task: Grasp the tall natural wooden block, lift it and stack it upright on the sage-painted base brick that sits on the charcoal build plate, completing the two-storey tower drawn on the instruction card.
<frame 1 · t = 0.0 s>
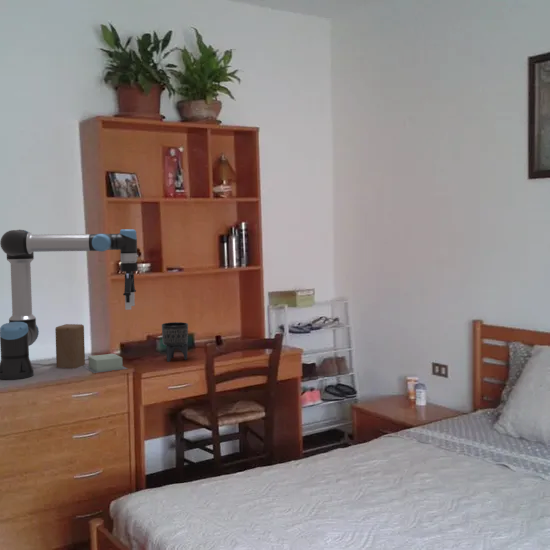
hand: (130, 307, 315), 28 cm above the table, fingers open, 13 cm apart
base brick: (105, 367, 310), point 1 cm above the table, touching build plate
wooden block: (71, 368, 316), on the table
instruction card: (115, 361, 330), on the table
planter: (175, 359, 333), on the table
build plate: (105, 369, 311), on the table
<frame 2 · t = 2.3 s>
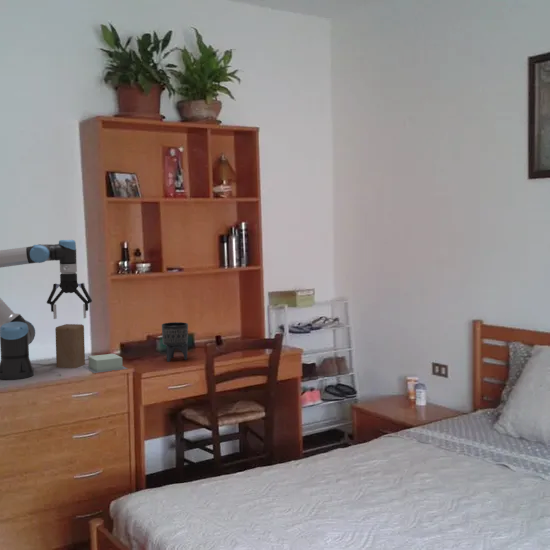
hand: (70, 318, 314), 23 cm above the table, fingers open, 13 cm apart
nothing on the table moved.
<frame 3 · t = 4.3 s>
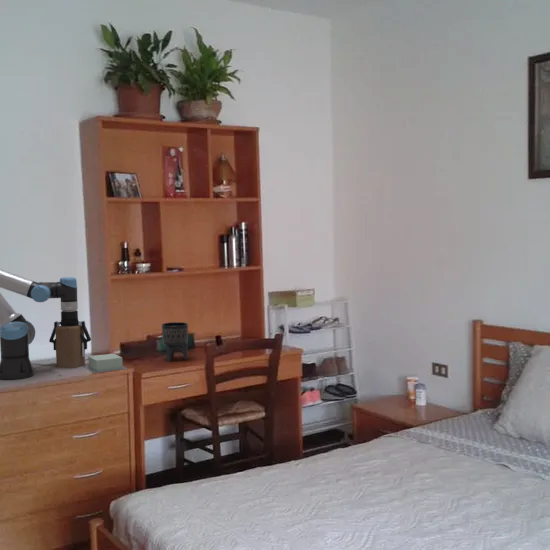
hand: (70, 356, 316), 5 cm above the table, fingers closed on wooden block, 11 cm apart
wooden block: (71, 368, 316), on the table, touching gripper
everything else where it was.
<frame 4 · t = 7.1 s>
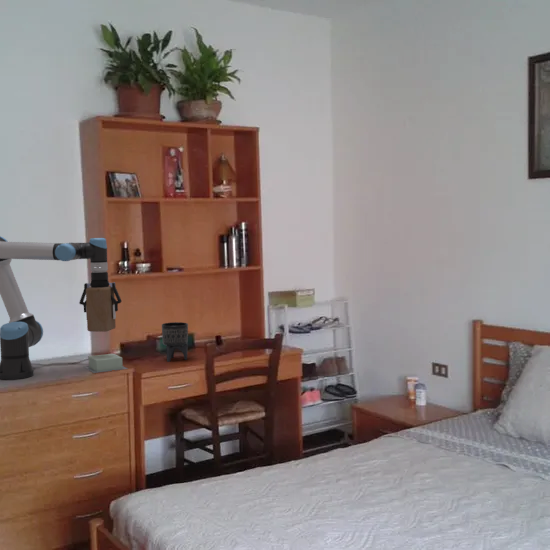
hand: (101, 319, 309), 24 cm above the table, fingers closed on wooden block, 11 cm apart
wooden block: (101, 330, 310), point 18 cm above the table, touching gripper
everything else where it was.
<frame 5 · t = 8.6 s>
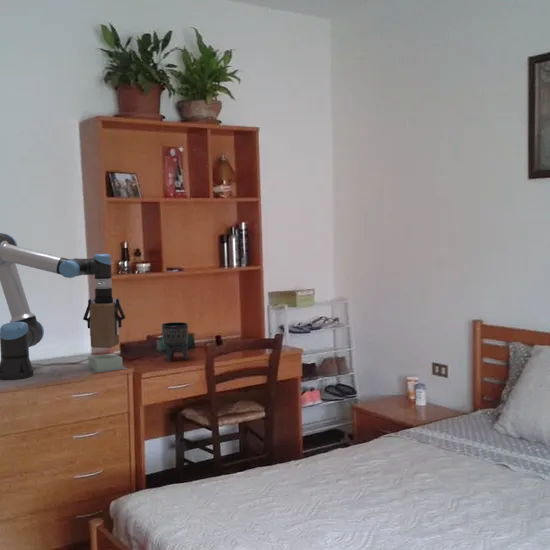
hand: (104, 335, 309), 16 cm above the table, fingers closed on wooden block, 11 cm apart
wooden block: (105, 346, 310), point 11 cm above the table, touching gripper
everything else where it was.
when the fingers open (12 cm above the table, at t = 10.0 s): wooden block stays where it is, resting on base brick.
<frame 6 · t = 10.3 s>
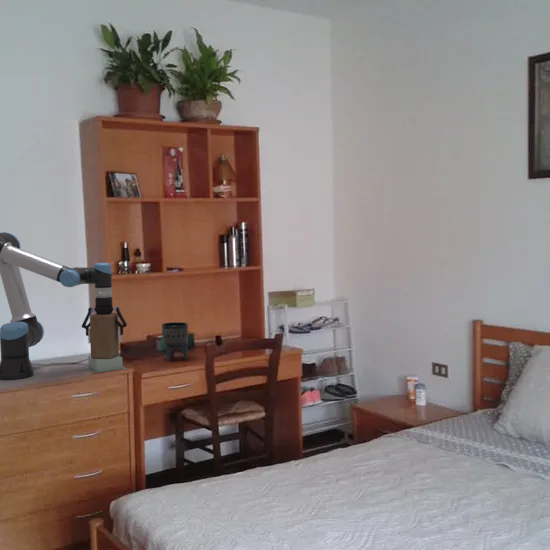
hand: (104, 342, 310), 13 cm above the table, fingers open, 13 cm apart
base brick: (105, 367, 310), point 1 cm above the table, touching build plate, wooden block
wooden block: (105, 357, 310), point 6 cm above the table, touching base brick
everything else where it was.
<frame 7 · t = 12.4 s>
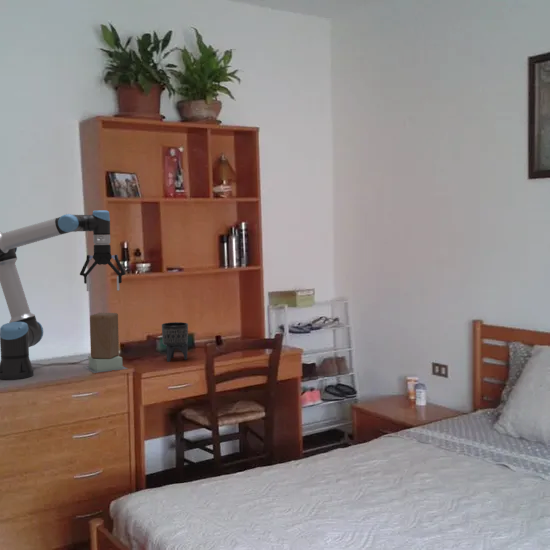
hand: (103, 290, 308), 37 cm above the table, fingers open, 13 cm apart
nothing on the table moved.
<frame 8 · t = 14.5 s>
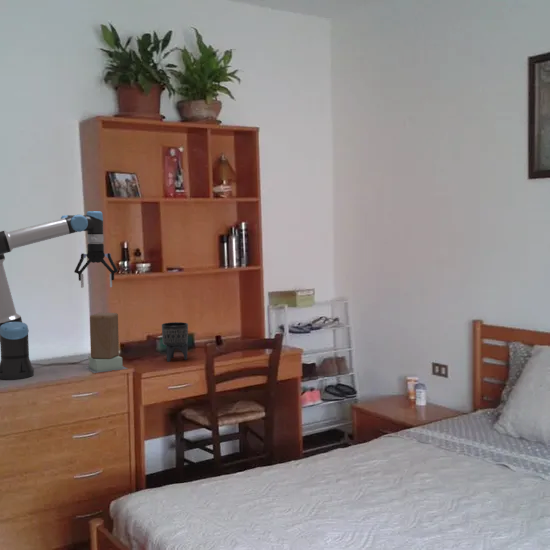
hand: (96, 287, 325), 37 cm above the table, fingers open, 13 cm apart
nothing on the table moved.
at the end: wooden block 0.1 cm from the base brick (horizontally); wooden block point 5.8 cm above the table; wooden block tilted 0° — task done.
